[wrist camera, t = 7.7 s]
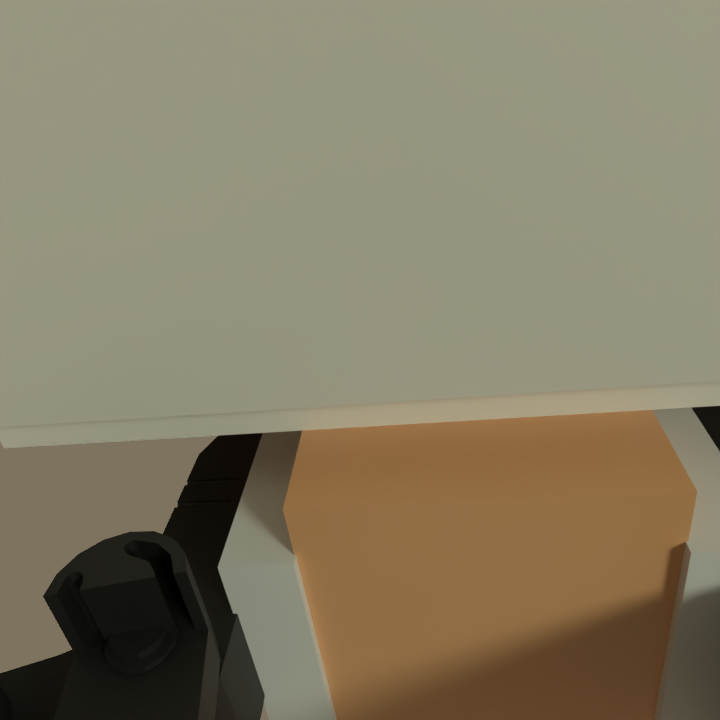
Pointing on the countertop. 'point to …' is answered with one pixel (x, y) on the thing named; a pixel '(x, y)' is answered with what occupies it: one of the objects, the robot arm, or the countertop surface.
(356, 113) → the lid
